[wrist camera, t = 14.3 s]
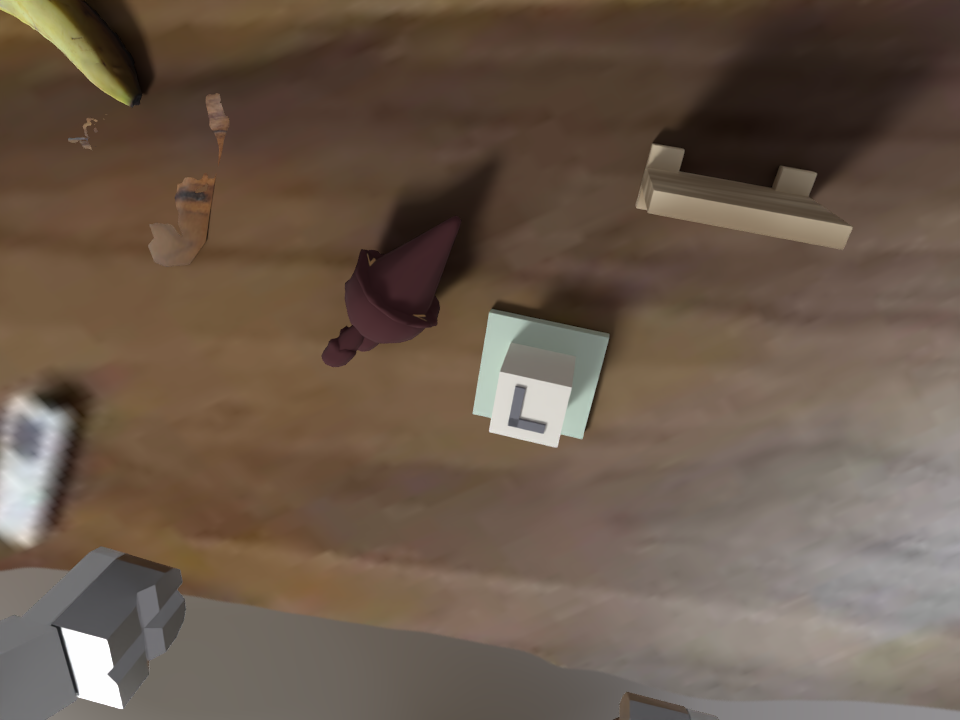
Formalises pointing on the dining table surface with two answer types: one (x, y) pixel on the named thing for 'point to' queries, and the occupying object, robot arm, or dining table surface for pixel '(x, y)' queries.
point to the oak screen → (739, 201)
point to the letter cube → (532, 394)
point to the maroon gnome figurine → (393, 293)
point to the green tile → (547, 337)
